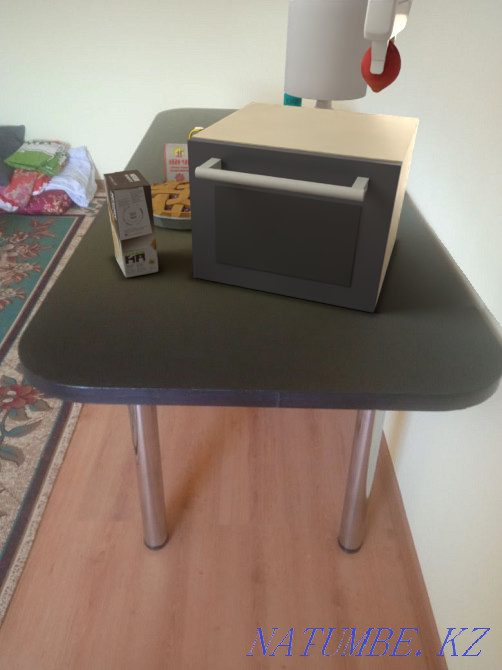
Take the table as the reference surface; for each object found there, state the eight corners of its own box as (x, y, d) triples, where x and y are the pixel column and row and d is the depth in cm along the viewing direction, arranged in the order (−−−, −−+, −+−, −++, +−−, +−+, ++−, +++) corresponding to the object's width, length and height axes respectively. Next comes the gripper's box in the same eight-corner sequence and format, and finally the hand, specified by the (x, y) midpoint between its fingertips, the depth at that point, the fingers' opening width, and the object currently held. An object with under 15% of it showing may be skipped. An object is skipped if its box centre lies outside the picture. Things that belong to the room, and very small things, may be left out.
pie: (127, 231, 108) (124, 208, 105) (148, 194, 125) (146, 174, 123) (232, 235, 107) (232, 212, 104) (237, 197, 125) (237, 177, 122)
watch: (188, 148, 159) (187, 128, 155) (191, 145, 161) (190, 125, 158) (206, 150, 158) (206, 129, 154) (209, 147, 160) (209, 127, 156)
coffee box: (160, 272, 93) (152, 185, 84) (125, 278, 91) (113, 190, 82) (146, 251, 100) (137, 168, 91) (113, 257, 98) (101, 172, 89)
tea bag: (167, 181, 134) (164, 141, 128) (193, 181, 134) (191, 142, 128) (166, 186, 130) (163, 145, 125) (192, 186, 131) (191, 146, 125)
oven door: (367, 332, 79) (396, 178, 65) (179, 292, 87) (169, 149, 74) (375, 308, 85) (402, 162, 71) (197, 273, 93) (191, 137, 79)
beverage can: (298, 141, 168) (301, 91, 159) (280, 140, 168) (283, 90, 160) (299, 137, 172) (303, 88, 164) (282, 136, 173) (285, 87, 164)
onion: (393, 90, 81) (403, 31, 77) (398, 97, 77) (409, 35, 72) (356, 88, 82) (363, 30, 77) (358, 95, 77) (367, 33, 72)
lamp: (367, 162, 150) (392, -3, 127) (335, 182, 136) (356, -1, 112) (302, 149, 160) (315, -6, 137) (265, 166, 145) (272, -5, 122)
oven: (375, 308, 85) (403, 161, 71) (197, 273, 93) (191, 136, 80) (395, 240, 107) (419, 118, 93) (249, 217, 115) (252, 102, 101)
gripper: (415, -47, 61) (393, 82, 69) (426, -42, 76) (407, 62, 84) (361, -48, 62) (346, 78, 70) (383, -43, 78) (369, 59, 86)
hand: (380, 69), depth 77 cm, fingers closed on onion, 6 cm apart
